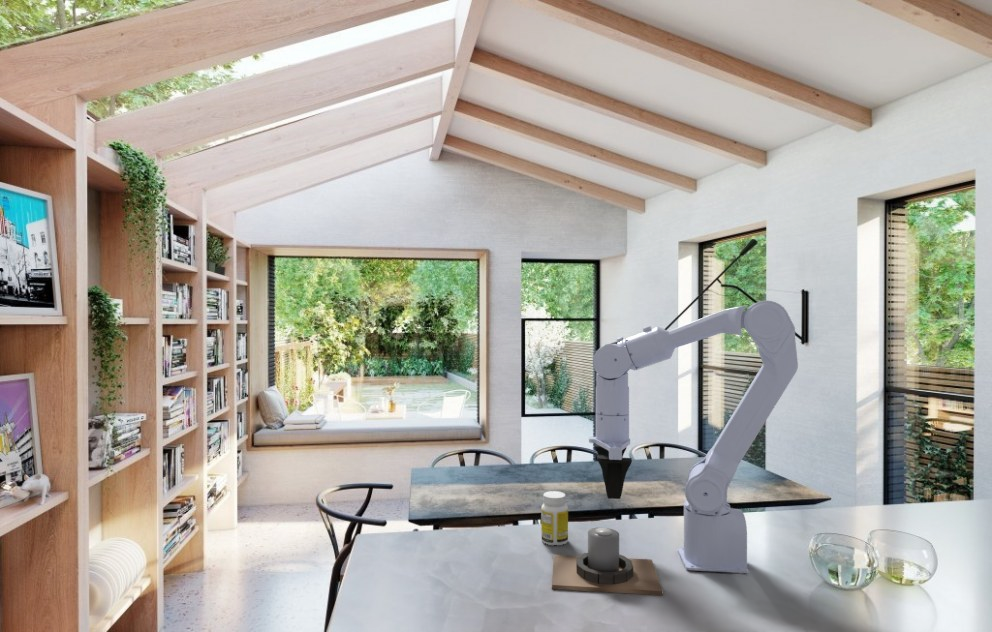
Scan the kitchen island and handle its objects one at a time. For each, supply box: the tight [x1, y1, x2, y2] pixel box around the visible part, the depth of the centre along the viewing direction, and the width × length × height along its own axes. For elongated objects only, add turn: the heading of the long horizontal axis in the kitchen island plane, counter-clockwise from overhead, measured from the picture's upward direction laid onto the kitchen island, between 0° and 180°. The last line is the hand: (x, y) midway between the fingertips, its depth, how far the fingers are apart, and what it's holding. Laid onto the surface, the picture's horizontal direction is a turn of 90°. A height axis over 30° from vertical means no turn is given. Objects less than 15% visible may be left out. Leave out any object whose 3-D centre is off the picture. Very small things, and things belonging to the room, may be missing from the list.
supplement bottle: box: [540, 490, 569, 546], centre depth 106 cm, size 5×5×8 cm
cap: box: [587, 527, 620, 572], centre depth 92 cm, size 5×5×6 cm
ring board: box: [551, 552, 664, 596], centre depth 92 cm, size 16×11×2 cm
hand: (612, 491), depth 103 cm, fingers open, 7 cm apart
